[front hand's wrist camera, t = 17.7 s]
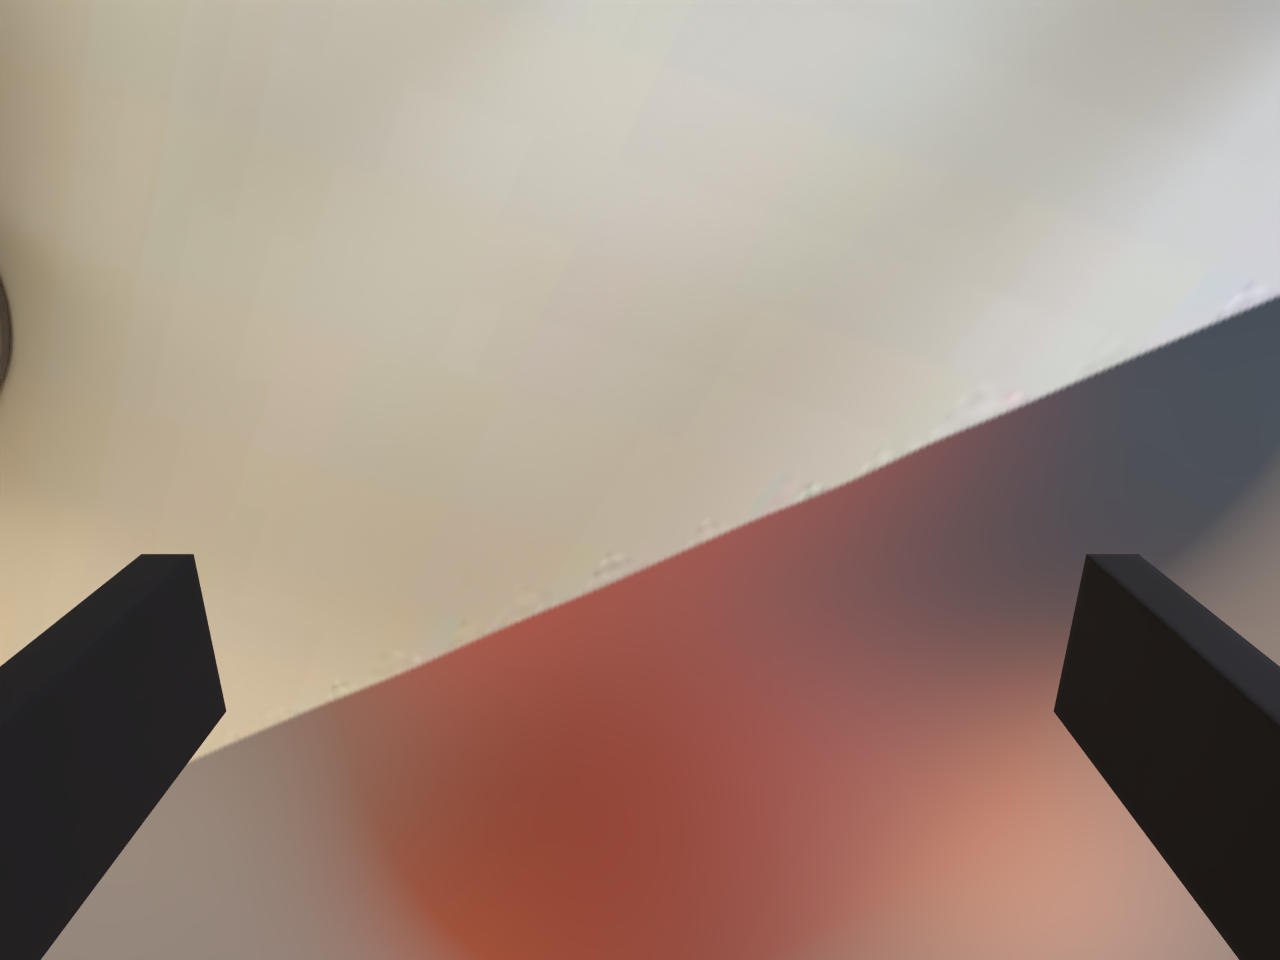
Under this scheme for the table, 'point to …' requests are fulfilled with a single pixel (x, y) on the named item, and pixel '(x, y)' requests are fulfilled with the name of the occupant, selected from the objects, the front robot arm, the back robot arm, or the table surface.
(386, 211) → the table surface
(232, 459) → the table surface
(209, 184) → the table surface
